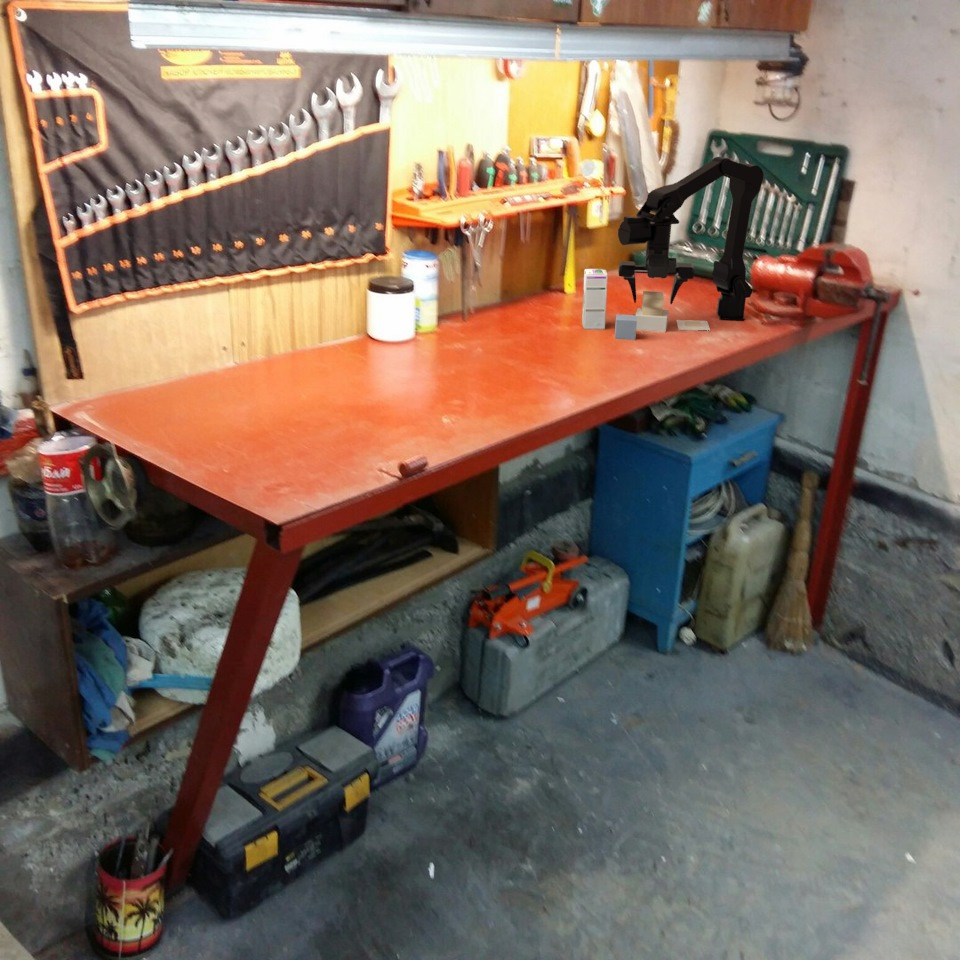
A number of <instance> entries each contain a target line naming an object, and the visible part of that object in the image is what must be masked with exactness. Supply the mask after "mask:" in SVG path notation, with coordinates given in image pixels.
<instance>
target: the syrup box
mask: <svg viewBox="0 0 960 960" xmlns="http://www.w3.org/2000/svg"><path fill="white" fill-rule="evenodd" d="M583 274H584V275H583V290H582V291H583V296H582V311H581V313H582V317H581V324H582V326H583V327H582V328H583V329H584V330H606V317H607V316H606V315H607V299H608V298H607V295H608V294H607V293H608V279H609V278H608V275H609V274H608V272H607V270H606V269H605V268H585V269H584V272H583Z"/></svg>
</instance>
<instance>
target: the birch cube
mask: <svg viewBox="0 0 960 960" xmlns="http://www.w3.org/2000/svg"><path fill="white" fill-rule="evenodd" d="M664 302H665V295H664V292H663V291H647V290H643V291H642V302H641V308H642V315H651V316H662V313H663V310H664Z"/></svg>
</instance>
